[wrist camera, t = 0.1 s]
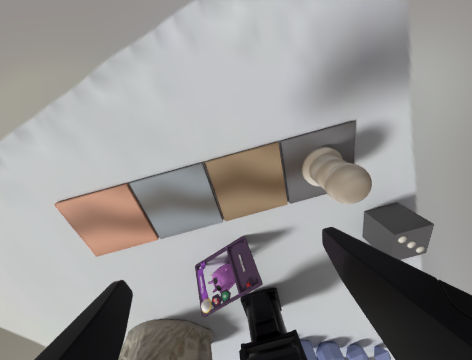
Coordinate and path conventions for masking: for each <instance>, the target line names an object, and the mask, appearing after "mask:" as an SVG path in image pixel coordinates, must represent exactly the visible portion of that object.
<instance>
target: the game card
mask: <svg viewBox="0 0 472 360" xmlns="http://www.w3.org/2000/svg"><path fill="white" fill-rule="evenodd" d="M226 250H227V253H228V257H229V260H230V264H225V265H223V266H221V267H219V268H218V269H217V270H216V271H215V272H214V273H213V275H210V276H212V277H213V280H212V281H210V282H208V284H211V283H213V284H214V286H215V289H214V291H213V293H214V292H216V291H217V290H218V291H220V294H221V297H220V296H219V295H220V294H219V295H218V294H217V295H215V296H213V298H212V303H211V300H210V299H209V298H208V294H207V291H206V286H205V281H204V275H203V269H204V268H205V263H207V262H209V261H210V260H212V259H213V258H215V257H217V256H218V255H220V254H222V253H223V252H225V251H226ZM200 266H201V269H199V267H200ZM195 270H196V277H197V284H198V292H199V299H200V306H201V314H202V317H206V316H208V315H209V314H211V313H213V312H215V311H217V310H218V309H220V308H222V307H224V306H226V305H227V304H229V303H231V302H233V301H234V300H236V299H238V298H240V297H242V296H243V295H245V294H247V293H249V292H251V291H252V290H254V289H256V288H258V287H260V286H261V285H262V284H263V283H262V280H261V277H260V275H259V272H258V270H257V267H256V264H255V262H254V259H253V257H252V254H251V251H250V249H249V246H248V243H247V241H246V238H245V237H244V236H242V237H240V238H239V239H237V240H236V241H234V242H232V243H231V244H229V245H227V246H226V247H224V248H223V249H221V250H219V251H218V252H216V253H215V254H213V255H211V256H210V257H208V258H207V259H205V260H203V261H202V262H200V263H198V264H197V265H196V266H195ZM235 283H236V285H237V289H238V292H239V294H238V295H236V296H234V297H233V298H231V299H230V294H231V293H230V292H229V291H228V290H229V289H230V288H231V287H232V286H233V285H234V284H235ZM221 300H222V301H223V303H222V304H221ZM212 305H213V307H214V308H213V309H211V306H212ZM210 309H211V310H210Z"/></svg>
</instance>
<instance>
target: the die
mask: <svg viewBox="0 0 472 360" xmlns="http://www.w3.org/2000/svg"><path fill="white" fill-rule="evenodd" d="M433 226H434V224H433V223H431V222H430V221H428V220H426V219H424V218H423V217H421V216H419V215H418V214H416V213H414V212H412V211H411V210H409V209H407V208H406V207H404V206H402V205H400V204H399V203H394V204H391V205H387V206H383V207H380V208H376V209H372V210H369V211H365V212H364V224H363V238H364V239H366V240H367V241H368V242H369V243H370V244H371V245H372V246H373V247H374V248H376V249H378V250H380V251H382V252H384V253H386V254H388V255H390V256H392V257H394V258H397V259H399V260H401V259H405V258H409V257H412V256H416V255H420V254H423V253H426V251H427V248H428V244H429V241H430V237H431V234H432V230H433Z"/></svg>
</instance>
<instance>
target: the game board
mask: <svg viewBox="0 0 472 360" xmlns="http://www.w3.org/2000/svg"><path fill="white" fill-rule="evenodd" d="M354 141H355V121H351V122H348V123H344V124H341V125H337V126H333V127H330V128H326V129H322V130H319V131H315V132H312V133H308V134H304V135H301V136H297V137H293V138H290V139H286V140H282V141H281V147H282V154H283V161H284V168H285V175H286V182H287V189H288V196H289V202H290V204H291V203H295V202H298V201H302V200H306V199H309V198H313V197H317V196H320V195H324V194H327V192H326V190H324V189H323V188H322V187H321V186H314V185H311V184H310V183H308V182H307V181H306V180H305V179H304V177H303V176H302V172H301V167H302V163H303V161H304V159H305V157H306V156H307V155H308V154H309V153H310V152H311V151H313V150H314V149H317V148H320V147H329V148H332V149H334V150H336V151H338V152H339V153H340V154H341V156H342V158H343V160H344V161H346V162H348V163H352V164H354ZM205 163H206V166H207V169H208V172H209V175H210V178H211V181H212V184H213V187H214V189H215V192H216V195H217V198H218V201H219V204H220V207H221V210H222V213H223V216H224V219H225V221H229V220H232V219H236V218H240V217H243V216H247V215H251V214H254V213H258V212H262V211H265V210H269V209H273V208H276V207H280V206H284V205H287V197H286V190H285V184H284V177H283V170H282V164H281V157H280V150H279V144H278V142H275V143H272V144H268V145H264V146H261V147H257V148H253V149H250V150H246V151H243V152H239V153H235V154H232V155H228V156H224V157H221V158H217V159H213V160H210V161H206V162H205ZM130 186H131V188H132V189H133V191H134V193H135V195H136V196H137V198H138V200H139V202H140V203H141V205H142V207H143V209H144V210H145V212H146V214H147V216H148V217H149V219H150V221H151V223H152V224H153V226H154V228H155V230H156V231H157V233H158V235H159V237H160V238H161V239H163V238H166V237H170V236H174V235H177V234H181V233H185V232H188V231H192V230H196V229H199V228H203V227H207V226H210V225H214V224H218V223H221V222H223V221H222V218H221V215H220V212H219V209H218V206H217V203H216V201H215V198H214V195H213V192H212V189H211V186H210V183H209V181H208V178H207V175H206V172H205V169H204V166H203V164H202V163H199V164H195V165H192V166H188V167H184V168H181V169H177V170H174V171H170V172H166V173H163V174H159V175H155V176H152V177H148V178H145V179H141V180H137V181H134V182H131V183H130ZM131 188H130V187H129V185H128V183H126V184H123V185H119V186H115V187H112V188H108V189H105V190H101V191H97V192H94V193H90V194H86V195H83V196H79V197H76V198H72V199H68V200H65V201H61V202H57V203H55V204H54V205H55V207H56V208H57V209H58V210H59V212H60V213H61V214H62V215H63V216H64V218H65V219H66V220H67V221H68V222H69V224H70V225H71V226H72V227H73V229H74V230H75V231H76V232H77V233H78V235H79V236H80V237H81V238H82V240H83V241H84V242H85V243H86V244H87V246H88V247H89V248H90V249H91V251H92V252H93V253H94V254H95V255H96V257H97V256H100V255H104V254H108V253H111V252H115V251H119V250H122V249H126V248H130V247H133V246H137V245H141V244H144V243H148V242H152V241H155V240H158V238H159V237H158V236H157V234H156V232H155V230H154V229H153V227H152V225H151V223H150V222H149V220H148V218H147V216H146V215H145V213H144V211H143V209H142V208H141V206H140V204H139V202H138V201H137V199H136V197H135V195H134V194H133V192H132V190H131Z"/></svg>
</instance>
